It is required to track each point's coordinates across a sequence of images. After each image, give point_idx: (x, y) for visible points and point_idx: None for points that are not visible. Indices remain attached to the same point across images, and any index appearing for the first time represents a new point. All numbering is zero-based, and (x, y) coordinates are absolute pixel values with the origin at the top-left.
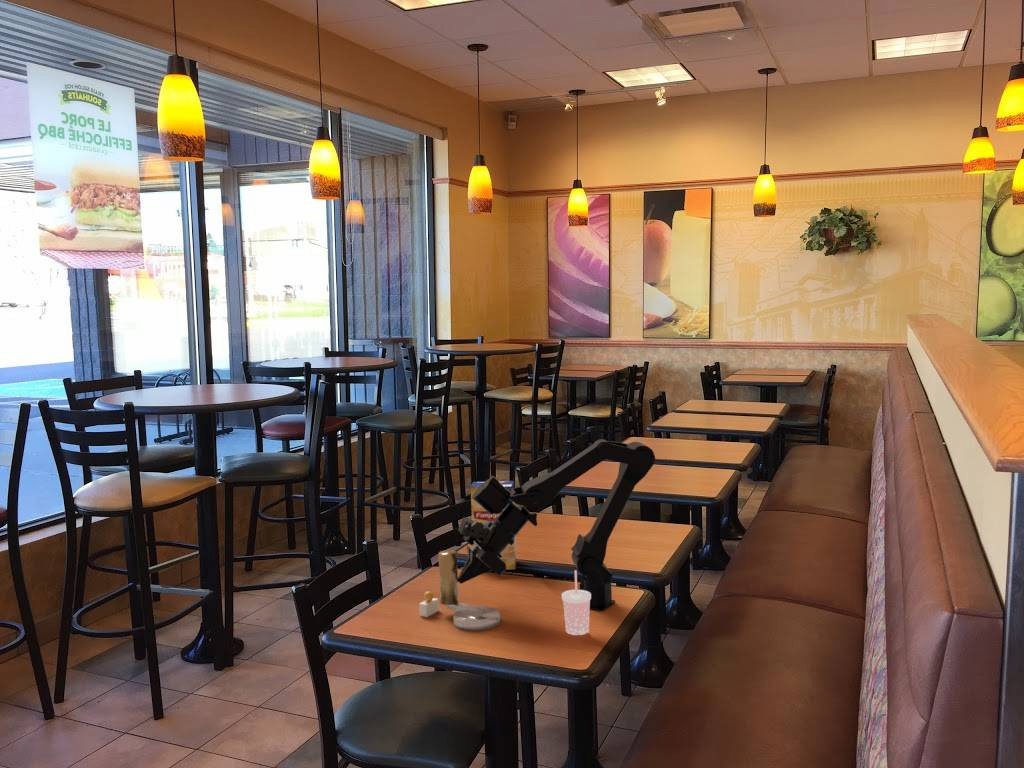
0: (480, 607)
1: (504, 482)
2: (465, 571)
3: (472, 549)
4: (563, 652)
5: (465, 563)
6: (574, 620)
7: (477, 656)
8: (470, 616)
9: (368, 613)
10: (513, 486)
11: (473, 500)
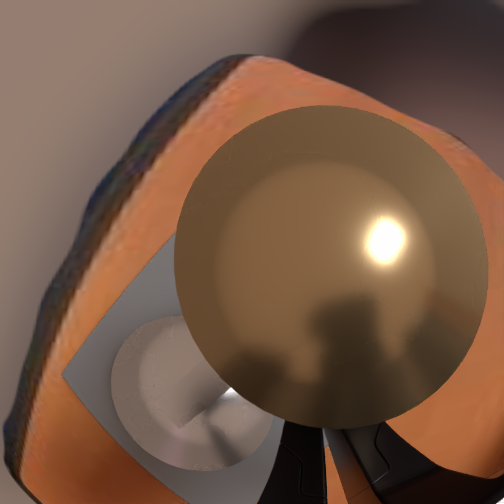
0: (258, 422)
1: None
2: (283, 429)
3: None
4: (62, 494)
5: (384, 439)
6: None
7: (41, 349)
8: (169, 377)
9: (357, 97)
10: None
11: None
